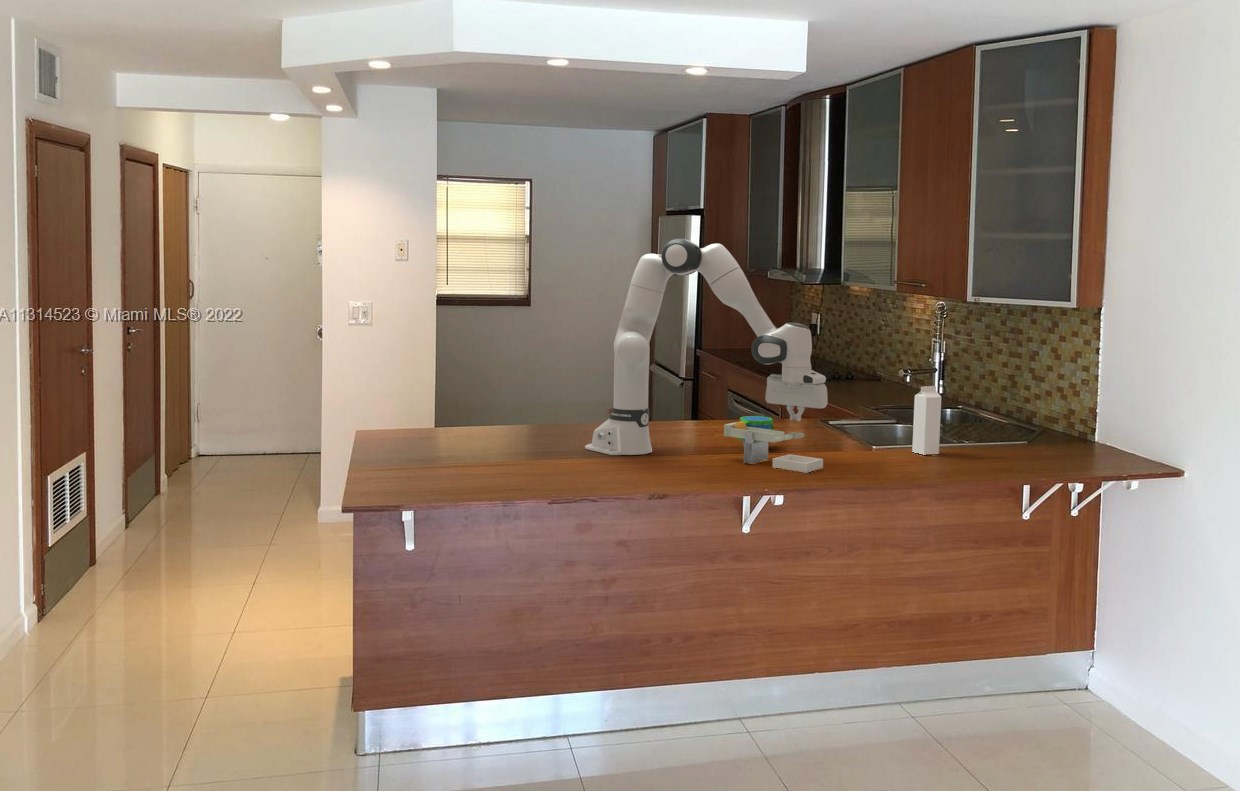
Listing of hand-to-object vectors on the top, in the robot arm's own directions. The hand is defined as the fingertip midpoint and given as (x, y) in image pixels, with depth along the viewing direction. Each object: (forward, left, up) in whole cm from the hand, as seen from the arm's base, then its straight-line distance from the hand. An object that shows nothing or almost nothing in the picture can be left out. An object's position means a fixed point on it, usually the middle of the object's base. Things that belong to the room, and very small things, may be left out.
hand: (795, 420), depth 339 cm
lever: (-8, -5, -5) cm, 11 cm away
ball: (-13, -10, -2) cm, 17 cm away
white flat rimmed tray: (+7, -10, -13) cm, 18 cm away
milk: (+25, +39, -13) cm, 48 cm away
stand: (-8, -10, -13) cm, 18 cm away
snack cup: (-21, +10, -13) cm, 26 cm away
